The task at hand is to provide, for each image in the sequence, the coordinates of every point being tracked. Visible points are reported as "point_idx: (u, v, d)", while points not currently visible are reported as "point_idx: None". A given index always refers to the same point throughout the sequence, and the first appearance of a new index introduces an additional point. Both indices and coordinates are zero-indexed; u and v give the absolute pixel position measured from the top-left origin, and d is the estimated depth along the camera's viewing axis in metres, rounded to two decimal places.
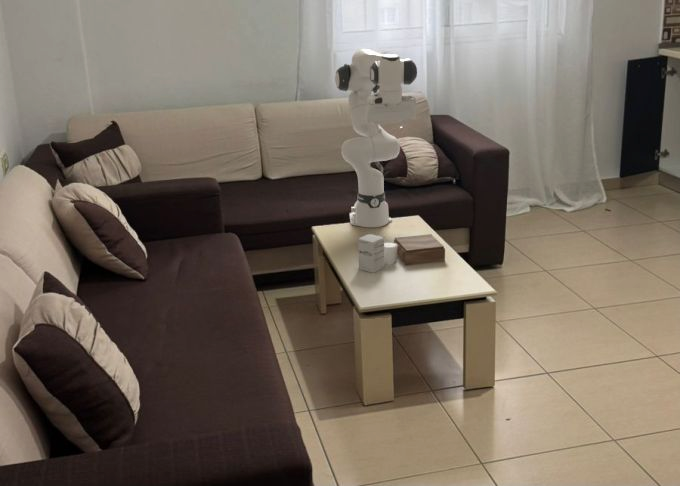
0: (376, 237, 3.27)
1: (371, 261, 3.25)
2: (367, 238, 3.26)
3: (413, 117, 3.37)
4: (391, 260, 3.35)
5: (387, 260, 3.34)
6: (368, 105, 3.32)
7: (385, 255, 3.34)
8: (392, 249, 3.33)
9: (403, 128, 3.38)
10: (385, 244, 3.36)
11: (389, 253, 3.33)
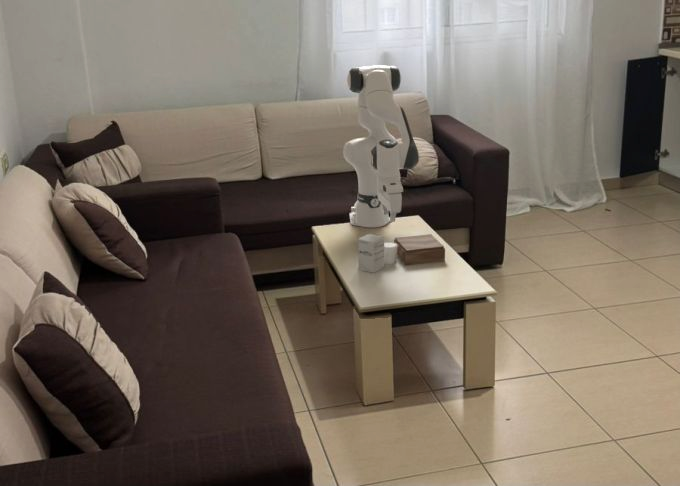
0: (376, 237, 3.27)
1: (371, 261, 3.25)
2: (367, 238, 3.26)
3: None
4: (391, 260, 3.35)
5: (387, 260, 3.34)
6: (395, 195, 3.19)
7: (385, 255, 3.34)
8: (392, 249, 3.33)
9: None
10: (385, 244, 3.36)
11: (389, 253, 3.33)
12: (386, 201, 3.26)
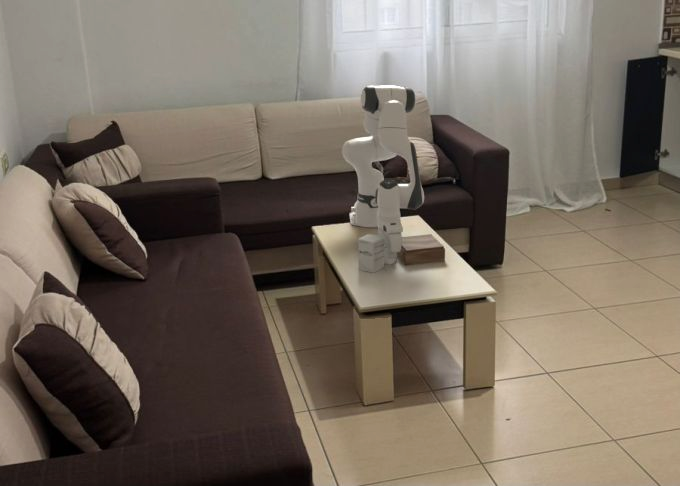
0: (376, 237, 3.27)
1: (371, 261, 3.25)
2: (367, 238, 3.26)
3: None
4: (391, 260, 3.34)
5: (387, 260, 3.34)
6: (395, 235, 3.25)
7: (385, 255, 3.34)
8: None
9: None
10: None
11: None
12: (386, 240, 3.31)
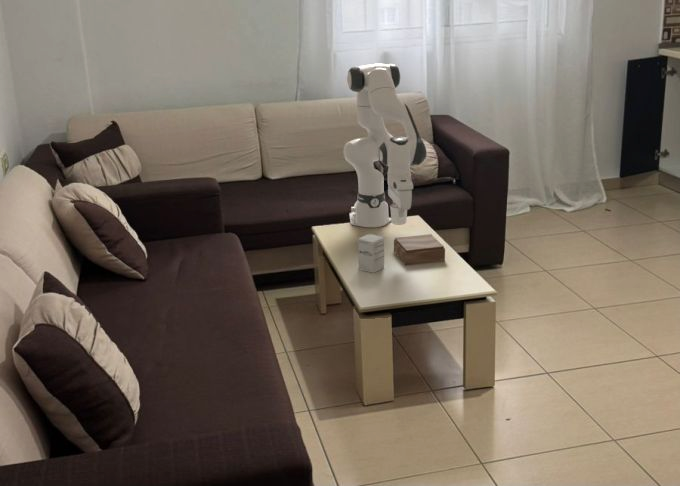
0: (376, 237, 3.27)
1: (371, 261, 3.25)
2: (367, 238, 3.26)
3: None
4: (401, 221, 3.31)
5: (397, 220, 3.31)
6: (405, 192, 3.21)
7: (395, 216, 3.31)
8: None
9: None
10: (395, 205, 3.32)
11: None
12: (396, 198, 3.27)
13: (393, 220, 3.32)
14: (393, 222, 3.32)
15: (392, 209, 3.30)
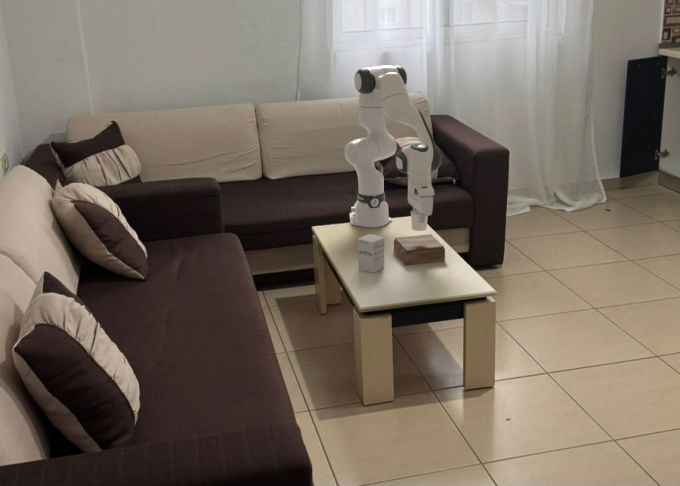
0: (376, 237, 3.27)
1: (371, 261, 3.25)
2: (367, 238, 3.26)
3: None
4: (422, 227, 3.35)
5: (418, 226, 3.35)
6: (427, 198, 3.25)
7: (416, 222, 3.34)
8: None
9: None
10: (416, 211, 3.36)
11: None
12: (417, 204, 3.31)
13: (414, 226, 3.36)
14: (414, 228, 3.36)
15: (413, 215, 3.34)
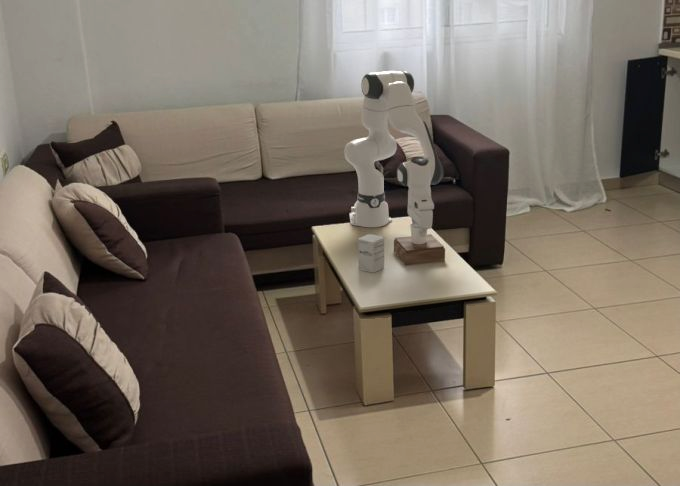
0: (376, 237, 3.27)
1: (371, 261, 3.25)
2: (367, 238, 3.26)
3: None
4: (421, 240, 3.37)
5: (417, 240, 3.37)
6: (426, 212, 3.27)
7: (415, 235, 3.37)
8: None
9: None
10: (415, 224, 3.38)
11: (419, 233, 3.36)
12: (417, 217, 3.33)
13: (413, 240, 3.38)
14: (413, 242, 3.38)
15: (412, 229, 3.36)
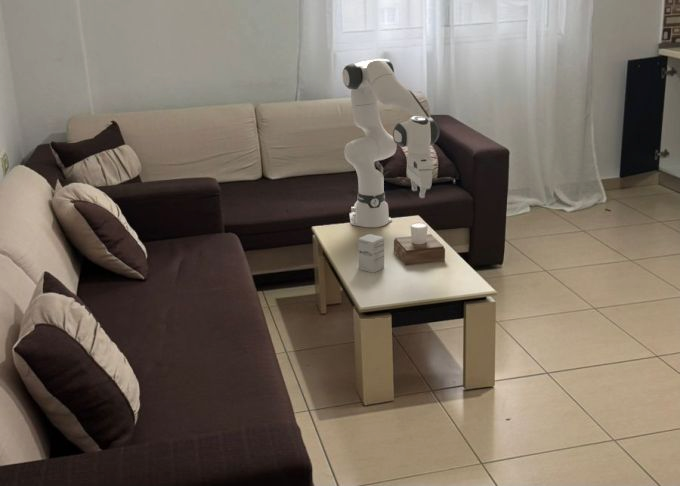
0: (376, 237, 3.27)
1: (371, 261, 3.25)
2: (367, 238, 3.26)
3: None
4: (421, 240, 3.37)
5: (417, 240, 3.37)
6: (426, 172, 3.23)
7: (415, 235, 3.37)
8: (422, 229, 3.35)
9: None
10: (415, 224, 3.38)
11: (419, 233, 3.36)
12: (416, 177, 3.29)
13: (413, 240, 3.38)
14: (413, 242, 3.38)
15: (412, 229, 3.36)
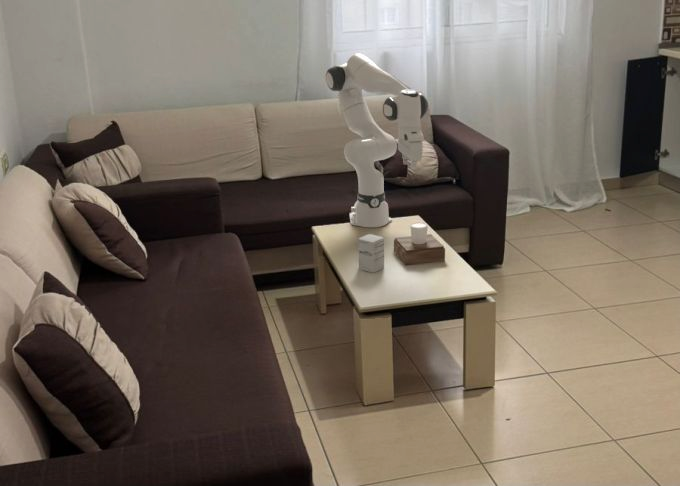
0: (376, 237, 3.27)
1: (371, 261, 3.25)
2: (367, 238, 3.26)
3: None
4: (421, 240, 3.37)
5: (417, 240, 3.37)
6: (416, 144, 3.27)
7: (415, 235, 3.37)
8: (422, 229, 3.35)
9: None
10: (415, 224, 3.38)
11: (419, 233, 3.36)
12: (407, 150, 3.34)
13: (413, 240, 3.38)
14: (413, 242, 3.38)
15: (412, 229, 3.36)
